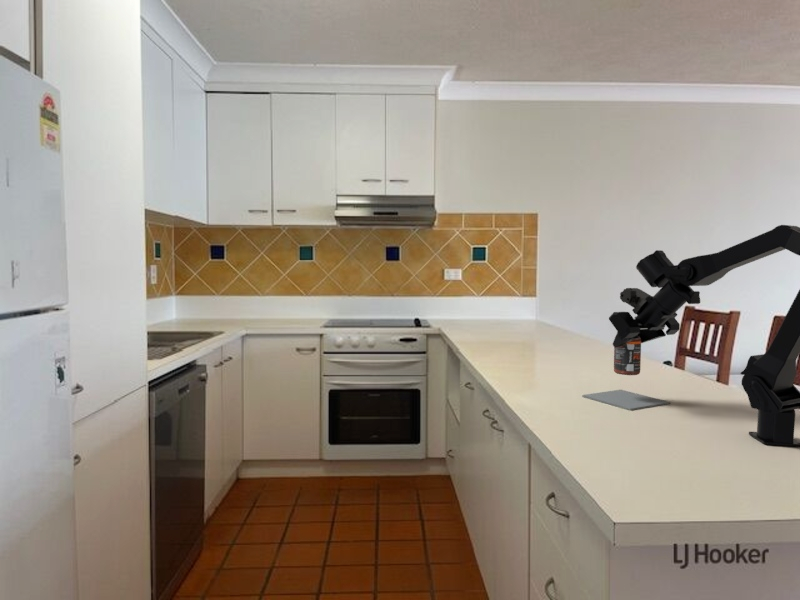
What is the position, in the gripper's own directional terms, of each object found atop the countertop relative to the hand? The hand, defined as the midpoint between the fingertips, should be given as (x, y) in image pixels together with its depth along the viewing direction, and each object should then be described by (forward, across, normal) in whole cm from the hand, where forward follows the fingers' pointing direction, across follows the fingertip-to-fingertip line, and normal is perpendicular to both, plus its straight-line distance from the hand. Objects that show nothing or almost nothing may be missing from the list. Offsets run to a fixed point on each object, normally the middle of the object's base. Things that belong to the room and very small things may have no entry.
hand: (622, 345), depth 133 cm
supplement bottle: (+4, 0, +6) cm, 7 cm away
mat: (+9, 0, +10) cm, 13 cm away
